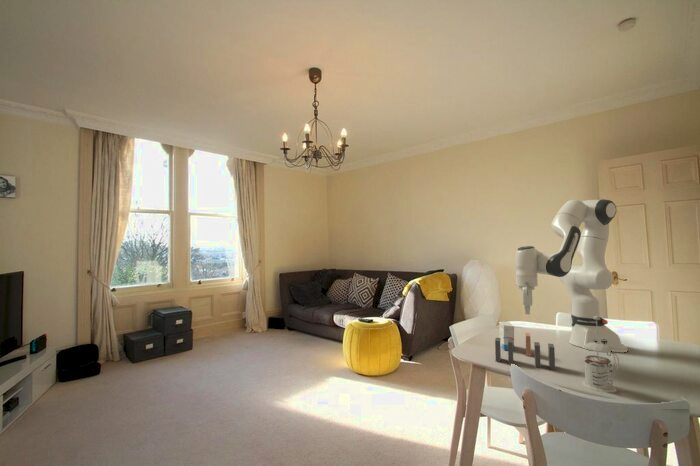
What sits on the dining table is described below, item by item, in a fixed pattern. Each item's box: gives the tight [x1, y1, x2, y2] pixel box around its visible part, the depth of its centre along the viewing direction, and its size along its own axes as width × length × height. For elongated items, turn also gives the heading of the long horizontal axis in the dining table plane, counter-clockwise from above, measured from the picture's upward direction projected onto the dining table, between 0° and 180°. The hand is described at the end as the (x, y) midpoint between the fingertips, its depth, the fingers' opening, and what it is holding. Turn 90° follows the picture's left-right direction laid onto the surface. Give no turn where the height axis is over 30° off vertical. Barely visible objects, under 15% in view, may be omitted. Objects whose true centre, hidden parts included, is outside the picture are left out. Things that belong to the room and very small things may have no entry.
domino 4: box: [533, 341, 542, 369], centre depth 134 cm, size 2×5×9 cm, turn 153°
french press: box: [581, 316, 620, 393], centre depth 115 cm, size 10×12×25 cm
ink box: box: [498, 321, 515, 352], centre depth 157 cm, size 9×5×12 cm, turn 168°
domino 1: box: [494, 337, 502, 363], centre depth 141 cm, size 2×5×9 cm, turn 153°
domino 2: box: [507, 339, 514, 364], centre depth 139 cm, size 2×5×9 cm, turn 153°
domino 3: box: [525, 332, 532, 357], centre depth 147 cm, size 2×5×9 cm, turn 153°
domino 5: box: [547, 343, 556, 371], centre depth 132 cm, size 2×5×9 cm, turn 153°
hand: (527, 311), depth 147 cm, fingers open, 8 cm apart
